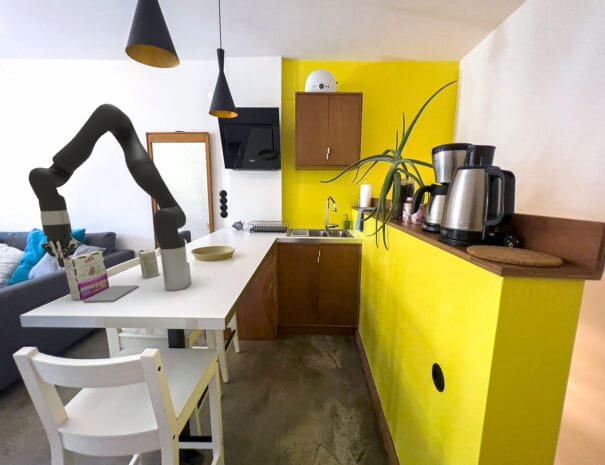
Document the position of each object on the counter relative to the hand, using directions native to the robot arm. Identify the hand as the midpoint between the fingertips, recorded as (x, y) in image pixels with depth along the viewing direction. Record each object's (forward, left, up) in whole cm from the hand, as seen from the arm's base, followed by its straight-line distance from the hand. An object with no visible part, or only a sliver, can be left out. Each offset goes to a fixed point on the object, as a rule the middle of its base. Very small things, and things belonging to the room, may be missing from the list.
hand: (64, 266), depth 93 cm
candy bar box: (-9, 0, -12) cm, 15 cm away
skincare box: (-20, -20, -12) cm, 30 cm away
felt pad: (-18, +1, -12) cm, 21 cm away
